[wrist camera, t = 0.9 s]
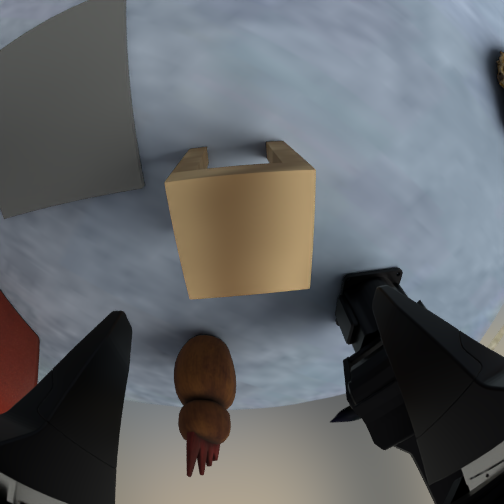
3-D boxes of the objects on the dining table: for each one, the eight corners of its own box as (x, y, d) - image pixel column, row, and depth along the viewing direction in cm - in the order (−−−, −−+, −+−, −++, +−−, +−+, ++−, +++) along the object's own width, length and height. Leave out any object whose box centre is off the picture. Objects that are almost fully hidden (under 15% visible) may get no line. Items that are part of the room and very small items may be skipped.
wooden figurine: (171, 328, 27) (153, 469, 14) (226, 322, 27) (231, 472, 14) (191, 366, 30) (184, 485, 18) (238, 361, 30) (246, 485, 18)
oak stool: (283, 140, 18) (315, 169, 11) (284, 223, 22) (309, 288, 15) (189, 148, 18) (164, 182, 11) (201, 231, 21) (189, 299, 15)
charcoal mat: (126, -11, 11) (123, -13, 10) (144, 185, 19) (142, 188, 19) (-18, 66, 10) (-22, 67, 10) (7, 216, 19) (4, 219, 18)
